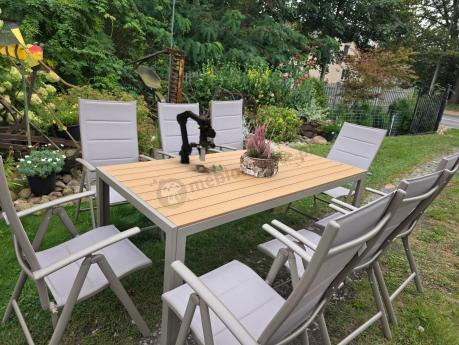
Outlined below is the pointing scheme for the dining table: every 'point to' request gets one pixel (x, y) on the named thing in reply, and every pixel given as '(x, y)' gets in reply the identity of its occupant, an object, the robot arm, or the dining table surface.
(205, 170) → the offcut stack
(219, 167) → the holder
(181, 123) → the robot arm
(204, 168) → the frame
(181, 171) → the dining table surface
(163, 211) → the dining table surface
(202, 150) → the long rectangular block
